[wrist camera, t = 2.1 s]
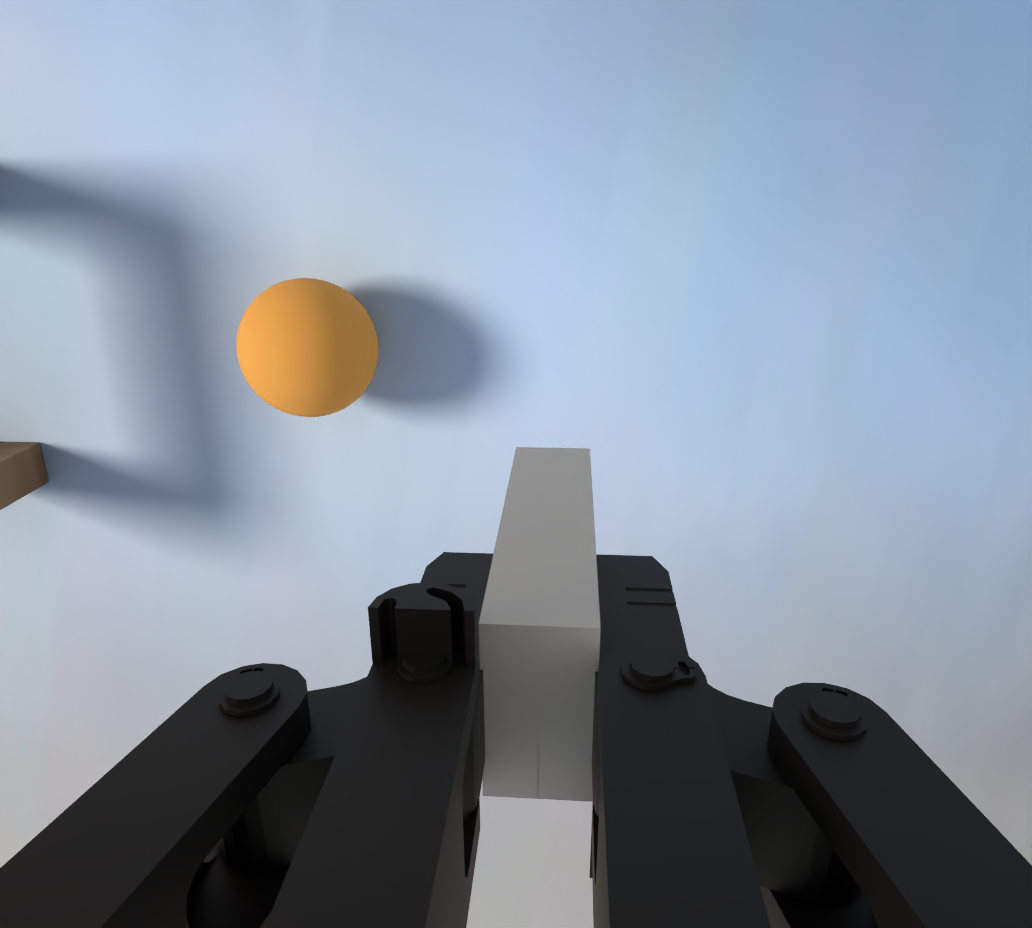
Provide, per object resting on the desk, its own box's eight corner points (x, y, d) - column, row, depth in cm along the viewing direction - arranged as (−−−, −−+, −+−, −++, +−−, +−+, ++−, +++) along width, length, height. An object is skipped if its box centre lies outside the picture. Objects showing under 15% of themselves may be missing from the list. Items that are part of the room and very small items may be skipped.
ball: (260, 270, 32) (201, 287, 27) (387, 270, 32) (352, 288, 27) (275, 395, 34) (223, 433, 29) (395, 397, 34) (364, 436, 29)
